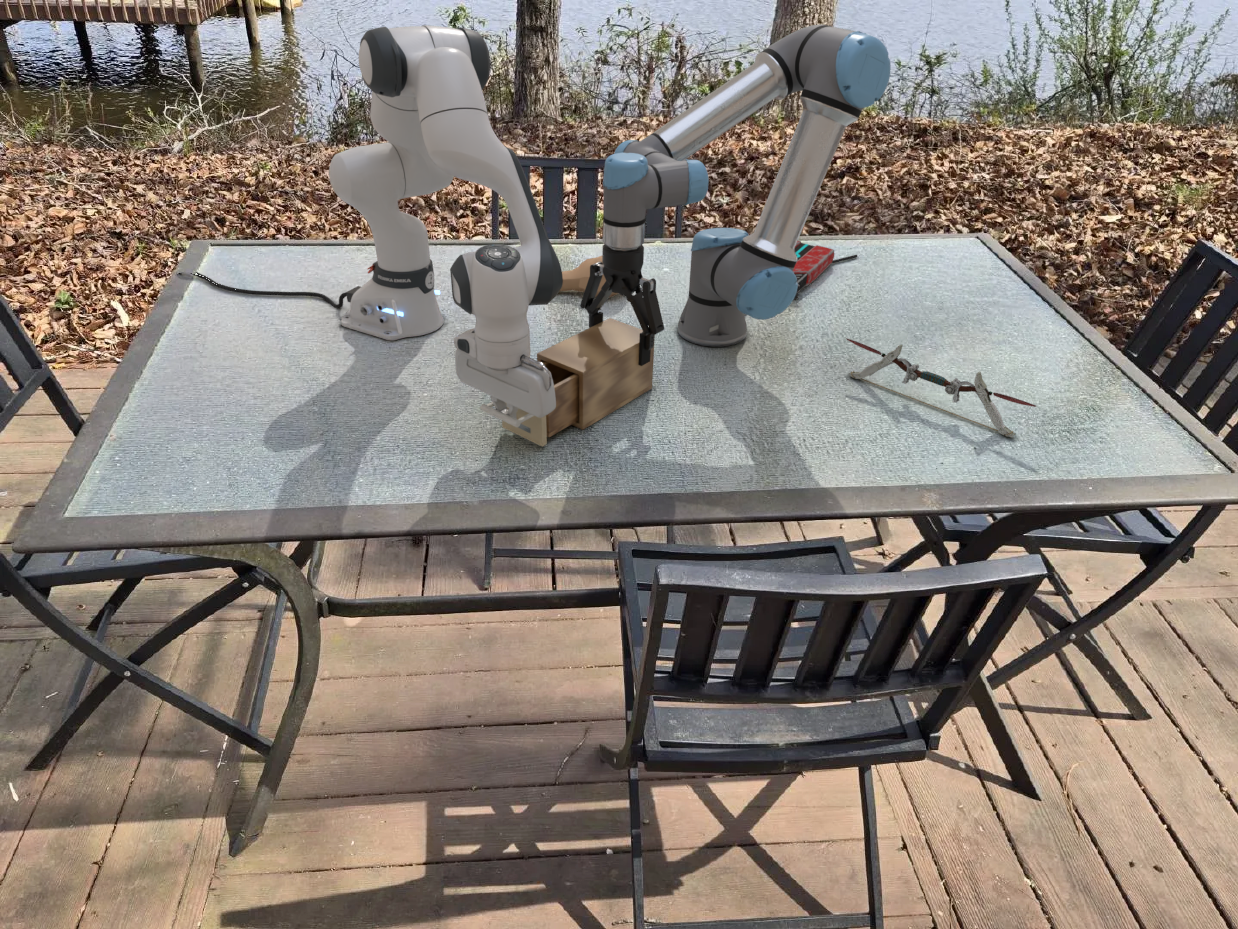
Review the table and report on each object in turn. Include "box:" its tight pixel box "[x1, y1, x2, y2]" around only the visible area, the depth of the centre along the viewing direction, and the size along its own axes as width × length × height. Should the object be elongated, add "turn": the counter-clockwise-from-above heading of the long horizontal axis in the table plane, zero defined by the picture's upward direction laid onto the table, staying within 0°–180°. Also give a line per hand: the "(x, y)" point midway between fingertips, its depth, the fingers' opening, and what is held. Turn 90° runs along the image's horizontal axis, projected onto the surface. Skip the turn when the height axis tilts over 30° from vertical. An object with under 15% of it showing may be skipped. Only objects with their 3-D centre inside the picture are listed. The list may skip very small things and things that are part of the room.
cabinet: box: [536, 317, 656, 431], centre depth 166 cm, size 21×11×12 cm, turn 141°
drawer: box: [479, 361, 579, 448], centre depth 157 cm, size 25×10×10 cm, turn 141°
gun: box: [793, 239, 835, 300], centre depth 224 cm, size 4×31×19 cm
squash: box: [558, 255, 620, 299], centre depth 210 cm, size 11×20×9 cm, turn 90°
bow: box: [845, 337, 1037, 438], centre depth 168 cm, size 39×2×10 cm, turn 47°
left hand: (507, 419), depth 150 cm, fingers closed, pressing on drawer
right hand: (620, 353), depth 170 cm, fingers closed on cabinet, 11 cm apart
